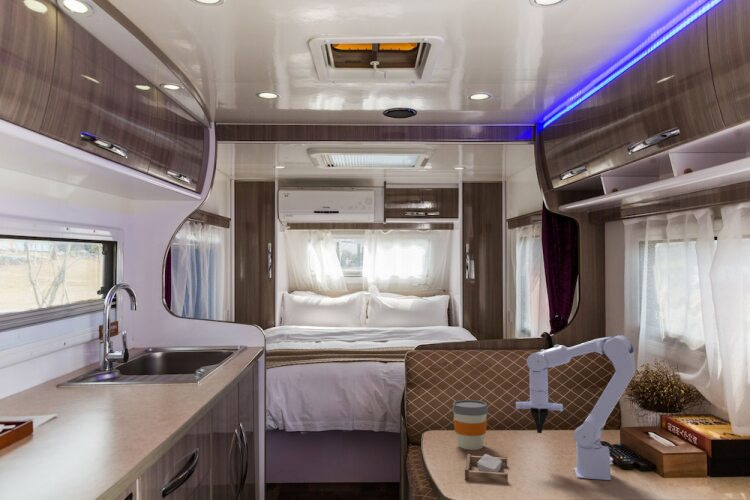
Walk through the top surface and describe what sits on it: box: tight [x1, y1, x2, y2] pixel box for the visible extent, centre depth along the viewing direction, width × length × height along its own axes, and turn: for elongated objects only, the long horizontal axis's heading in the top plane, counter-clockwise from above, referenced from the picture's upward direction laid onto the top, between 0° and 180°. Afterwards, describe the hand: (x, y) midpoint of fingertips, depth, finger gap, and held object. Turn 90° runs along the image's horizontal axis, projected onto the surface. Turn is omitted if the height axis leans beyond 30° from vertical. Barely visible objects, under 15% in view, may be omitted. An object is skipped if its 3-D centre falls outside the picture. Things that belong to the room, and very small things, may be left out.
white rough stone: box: [476, 453, 502, 473], centre depth 172 cm, size 10×6×6 cm, turn 147°
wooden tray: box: [464, 453, 509, 484], centre depth 171 cm, size 12×15×3 cm
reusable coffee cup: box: [452, 399, 489, 451], centre depth 199 cm, size 13×13×15 cm
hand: (539, 432), depth 178 cm, fingers closed
